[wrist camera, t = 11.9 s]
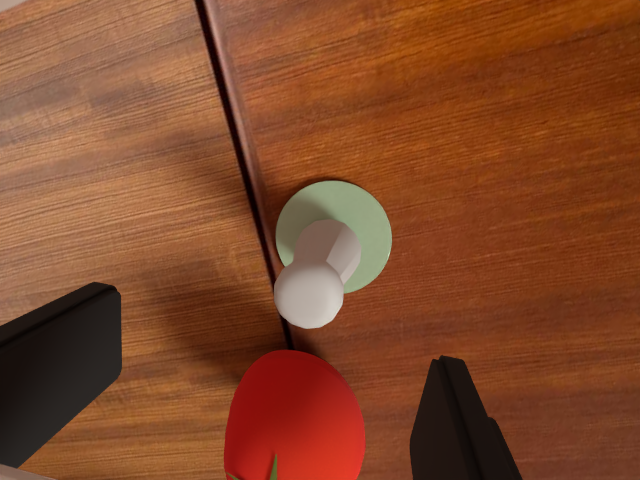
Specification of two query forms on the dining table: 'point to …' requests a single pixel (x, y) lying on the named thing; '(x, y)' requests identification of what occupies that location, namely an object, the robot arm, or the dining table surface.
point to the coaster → (341, 206)
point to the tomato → (293, 422)
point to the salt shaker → (317, 274)
